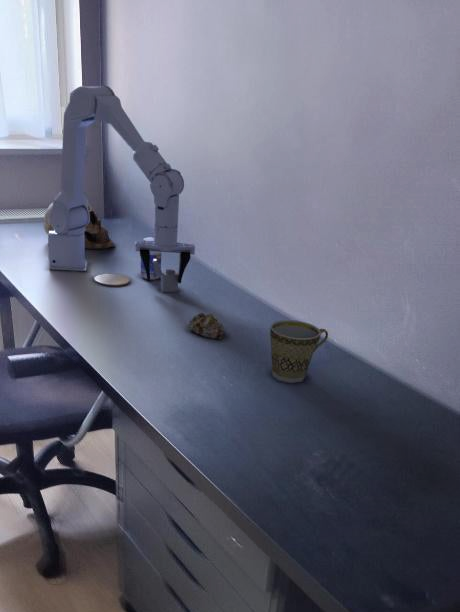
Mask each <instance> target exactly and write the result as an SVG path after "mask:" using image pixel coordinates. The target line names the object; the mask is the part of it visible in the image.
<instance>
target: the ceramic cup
mask: <svg viewBox="0 0 460 612" xmlns="http://www.w3.org/2000/svg"><path fill="white" fill-rule="evenodd" d="M323 333H325V335H324V338H323V339H322V340H321V341H320V339H321V335H322V334H323ZM269 335H270V337H269V338H270V339H269V340H270V355H271V356H270V357H271V374H272V377H274V379H275V380H277V381H278V382H279V381H280V382H284V383H289V384H295V383H302V382H303V381H304V379H305V378H306V375H307V372H308V369H309V367H310V363H311V360H312V357H313V355H314V353H315V352H316V351H317V350H318V348H320V347H321V346H322V345H323V344H324V343H326V341H327V340H328V337H329V332H328V331H327V329H325V328H319V327H317V326H315V325H314V324H311V323H309V322H305V321H301V320H296V319H295V320H294V319H293V320H292V319H283V320H278V321H274V322H272V323H271V324H270V327H269ZM319 341H320V342H319Z"/></svg>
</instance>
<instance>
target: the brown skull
mask: <svg viewBox="0 0 460 612" xmlns="http://www.w3.org/2000/svg"><path fill="white" fill-rule="evenodd" d="M52 207H53V202H51V203H50V204H49V206H48V207H47V209H46V211H45V213H44V217H43V230H44V232H45V234H46V235H47V236H48V233H49V231H55V230H54V229H53V228H52V226H51V224H50V220H49V215H50V212H51V210H52ZM88 211H89V214H90V221H89V224H88V225H87V226H86V227H85V229H86V231H84V240H85V249H89V250H95V249H96V250H98V249H102V250H103V249H104V250H105V249H108V248H112V247H115V243H114V241H113V240H112V239H111V238H110V236H109V232H108V229H107V228H106V227H105V225H103V224H102V220H101V219H99V217H98V214H97V213H95V209H94V208H93V206H91V205H90V204H89V203H88Z"/></svg>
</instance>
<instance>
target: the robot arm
mask: <svg viewBox="0 0 460 612" xmlns="http://www.w3.org/2000/svg"><path fill="white" fill-rule="evenodd" d="M125 111H126V110H124V108H123V106H122V102H121V99H120V97H118V96H117V95H116V94H115V92H114V91H113V89H112V88H111V87H110V86H108V85H96V86H84V85H81V86H78V87H76V88H75V89H73V90H72V91H70V92H69V101H68V103H67V106H66V108H65V110H64V113H63V125H62V127H63V128H62V146H61V147H62V148H61V149H62V151H61V170H60V171H61V174H60V191H59V193H58V194H57V195H56V196H55V198H54V199H53V200H52V203H53V207H52V210H51V212H50V215H49V220H50V224H51V226H52V228H53V229H54V230H55V231H49V233H48V235H47V246H48V248H47V249H48V254H47V257H48V266H49V267H48V269H49V270H56V271H75V272H86V271H87V267H88V261H87V260H86V248H85V240H84V231H86V229H85V227H86V226H87V225H88V224H89V221H90V214H89V211H88V204H89V200H88V199H87V198H86V196H85V195H84V182H85V181H84V178H85V163H86V146H87V131H88V129H87V128H88V127H89V126H90V125H92V124H93V123H94V122H100V123H105V124H109V125H110V126H111V127H112V128H113V130H114V131H115V132H116V133H117V134H118V135H119V136H120V138H121V139H122V140H123V141H124V143H126V145H127V146H128V147H129V148H130V150H131V151H132V160H133V161H134V162H135V164H136V166H138V168H139V169H140V171H141V172H142V173H143V175H144V176H145V178H146V179H147V180H148V182H150V183H149V188H150V192H151V194H152V196H153V203H154V219H153V221H154V222H153V238H154V241H144V240H136V241H135V252H139V256H140V260H141V259H142V261H143V264H144V267H145V270H146V274H147V279H146V282H147V283H148V282H150V283H151V279H150V251H156V252H161V253H171V254H172V253H174V254H176V253H177V254H179V256H178V257H179V258H178V259H179V260H178V261H179V263H178V272H177V274H178V284H182V280H183V276H184V273H185V270H186V268H187V266H188V264H189V262H190V259H191V255H193V256H194V255H195V254H196V253H195V252H196V246H195V244H192V243H183V242H178V233H179V232H178V230H179V226H178V225H179V209H180V208H179V207H180V195H181V194H182V192H183V191H184V189H185V180H184V177H183V176H182V174H181V172H180V171H179V170H178V169H176V168H172V166H171V165H170V163H167V161H166V160H165V159H164V158H163V156H162V154H161V153H160V152H159V147H158V146H157V144H153V143H152V142H150V141H145V140H144V139H143V137H142V136H141V134H140V133H139V131H138V130H137V128H136V127H135V124H134V123H133V122H132V120H131V119H130V117H129V116H128V114H127V113H126V112H125Z"/></svg>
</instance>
